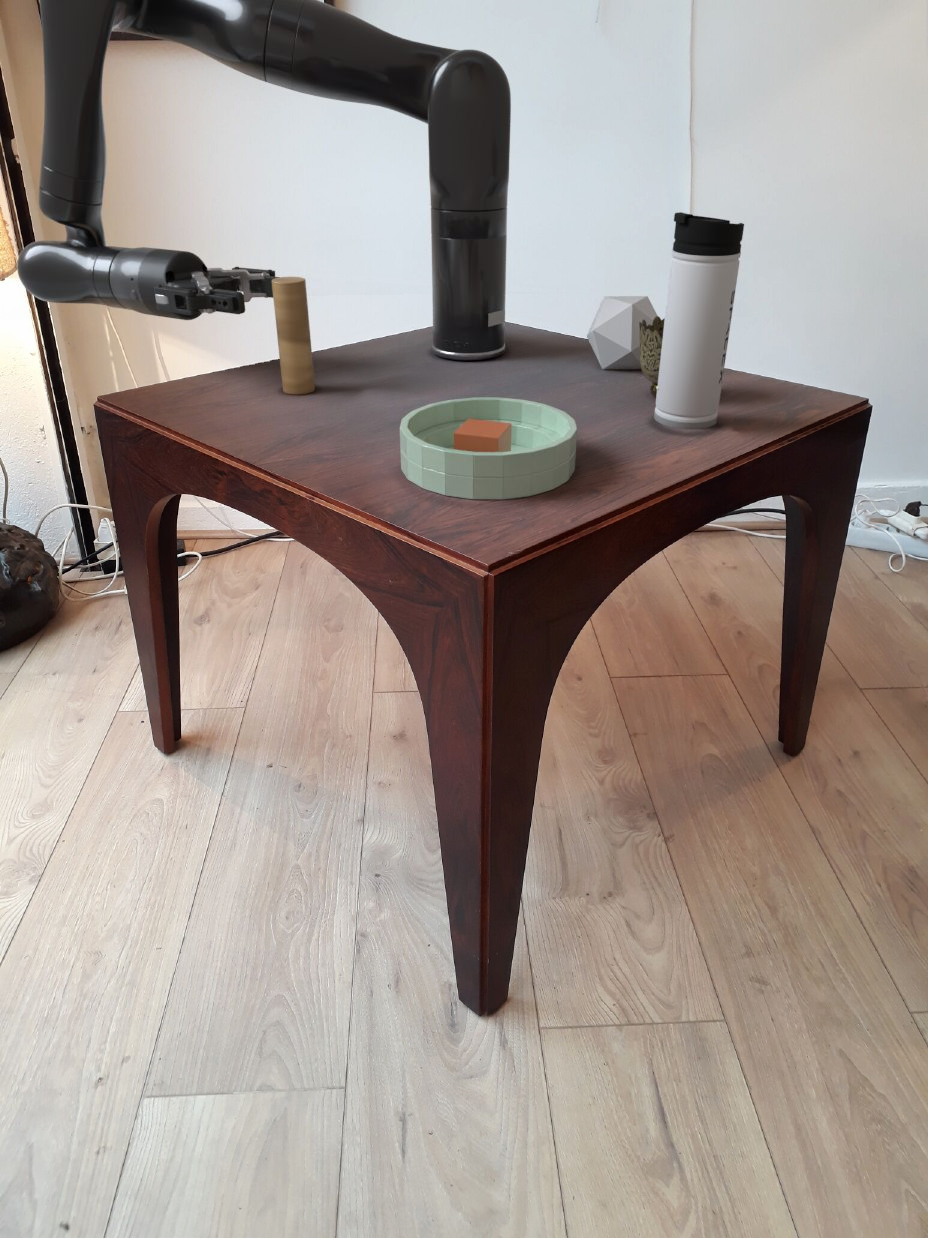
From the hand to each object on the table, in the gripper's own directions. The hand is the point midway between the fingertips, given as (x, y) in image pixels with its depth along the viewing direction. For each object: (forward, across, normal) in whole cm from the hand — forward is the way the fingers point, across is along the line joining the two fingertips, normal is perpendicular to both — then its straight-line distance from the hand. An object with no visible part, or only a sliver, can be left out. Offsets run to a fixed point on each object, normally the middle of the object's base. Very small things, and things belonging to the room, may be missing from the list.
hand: (268, 296), depth 100 cm
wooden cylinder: (+3, 0, +10) cm, 10 cm away
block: (+34, -13, +10) cm, 38 cm away
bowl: (+34, -12, +10) cm, 37 cm away
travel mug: (+45, +9, +10) cm, 47 cm away
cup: (+40, +18, +10) cm, 45 cm away
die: (+32, +27, +10) cm, 43 cm away
